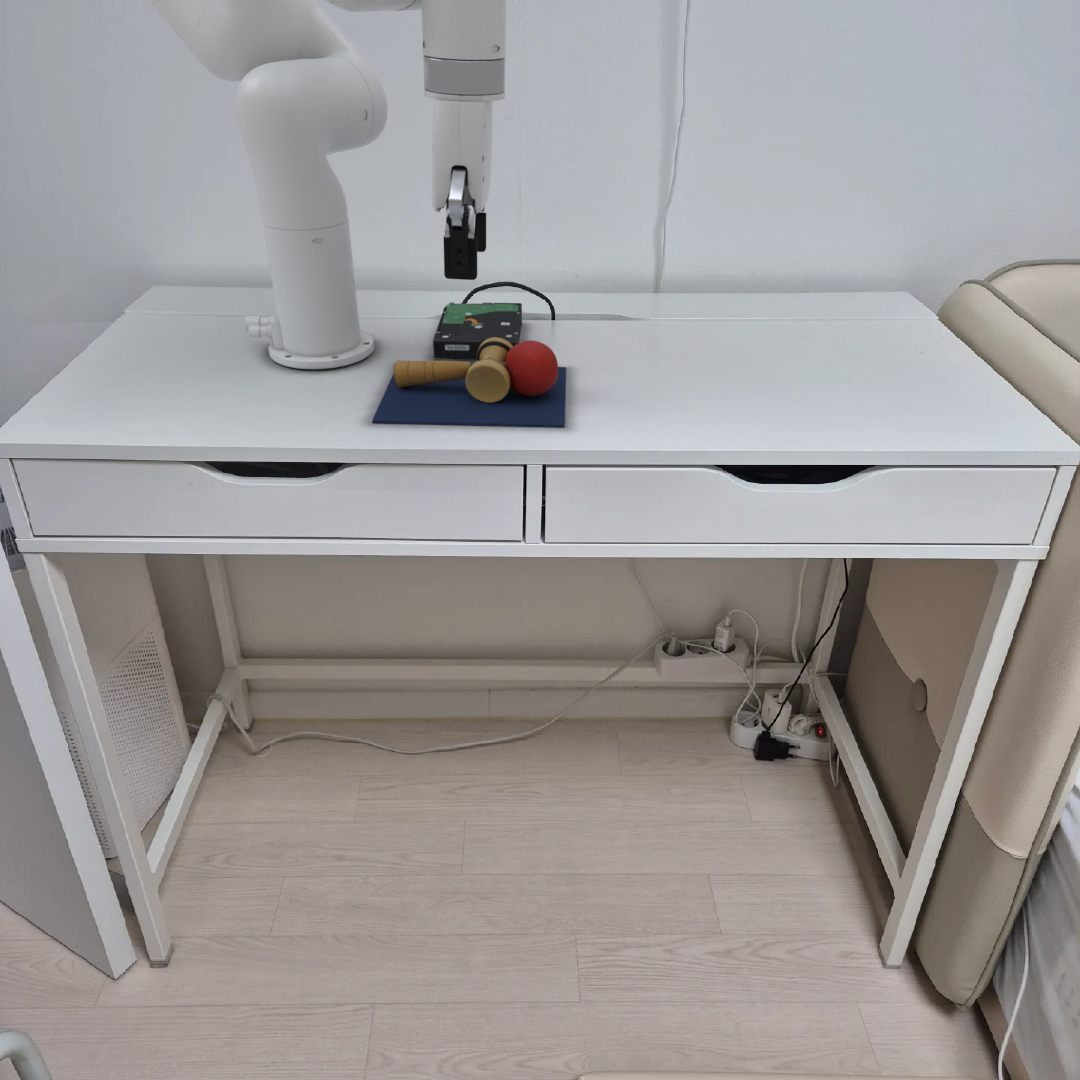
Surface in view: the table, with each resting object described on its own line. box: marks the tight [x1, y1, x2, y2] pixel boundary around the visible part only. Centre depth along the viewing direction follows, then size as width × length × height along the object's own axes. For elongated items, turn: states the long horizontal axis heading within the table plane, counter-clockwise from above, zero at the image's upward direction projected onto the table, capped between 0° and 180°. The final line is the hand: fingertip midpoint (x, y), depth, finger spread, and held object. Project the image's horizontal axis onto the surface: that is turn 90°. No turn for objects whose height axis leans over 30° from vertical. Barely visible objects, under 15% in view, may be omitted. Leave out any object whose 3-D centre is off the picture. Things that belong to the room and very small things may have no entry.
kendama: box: [393, 337, 559, 403], centre depth 98 cm, size 8×6×18 cm
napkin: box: [371, 366, 567, 428], centre depth 100 cm, size 20×16×1 cm
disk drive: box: [432, 301, 523, 361], centre depth 113 cm, size 10×3×15 cm
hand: (466, 264), depth 93 cm, fingers open, 9 cm apart
